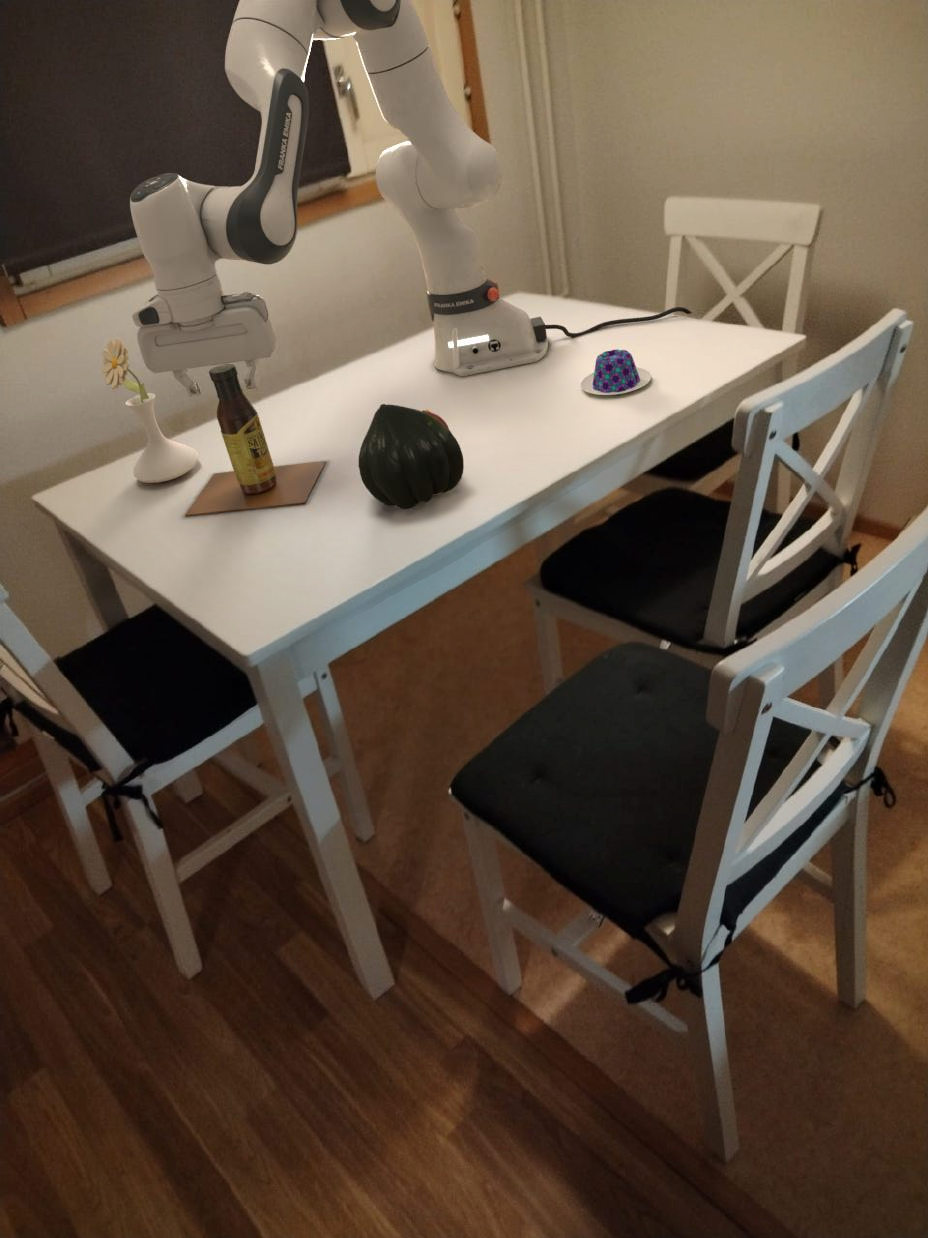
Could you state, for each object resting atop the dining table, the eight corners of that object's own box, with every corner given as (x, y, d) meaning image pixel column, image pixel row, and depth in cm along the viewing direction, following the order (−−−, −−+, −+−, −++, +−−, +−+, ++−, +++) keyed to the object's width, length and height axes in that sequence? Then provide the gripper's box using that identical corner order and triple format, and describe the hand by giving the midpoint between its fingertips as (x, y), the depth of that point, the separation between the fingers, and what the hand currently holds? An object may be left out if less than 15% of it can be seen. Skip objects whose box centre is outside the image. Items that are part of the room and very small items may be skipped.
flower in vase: (133, 472, 165) (75, 335, 151) (195, 451, 168) (144, 315, 154) (142, 499, 155) (81, 355, 141) (208, 477, 158) (155, 333, 143)
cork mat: (326, 462, 154) (325, 460, 154) (305, 503, 143) (304, 502, 143) (214, 474, 158) (213, 473, 158) (185, 516, 147) (185, 514, 147)
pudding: (593, 370, 166) (591, 341, 163) (659, 370, 161) (658, 341, 158) (571, 398, 158) (567, 369, 155) (640, 399, 153) (637, 369, 150)
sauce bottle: (271, 495, 147) (231, 375, 136) (235, 497, 149) (193, 379, 137) (284, 475, 152) (247, 358, 141) (250, 478, 154) (210, 362, 142)
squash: (478, 473, 129) (440, 376, 130) (376, 508, 127) (339, 409, 129) (469, 501, 143) (435, 412, 144) (377, 533, 141) (344, 443, 143)
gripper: (267, 282, 134) (294, 374, 142) (138, 303, 138) (171, 391, 146) (254, 296, 129) (283, 390, 137) (121, 317, 133) (156, 407, 141)
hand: (224, 391), depth 141 cm, fingers open, 8 cm apart
